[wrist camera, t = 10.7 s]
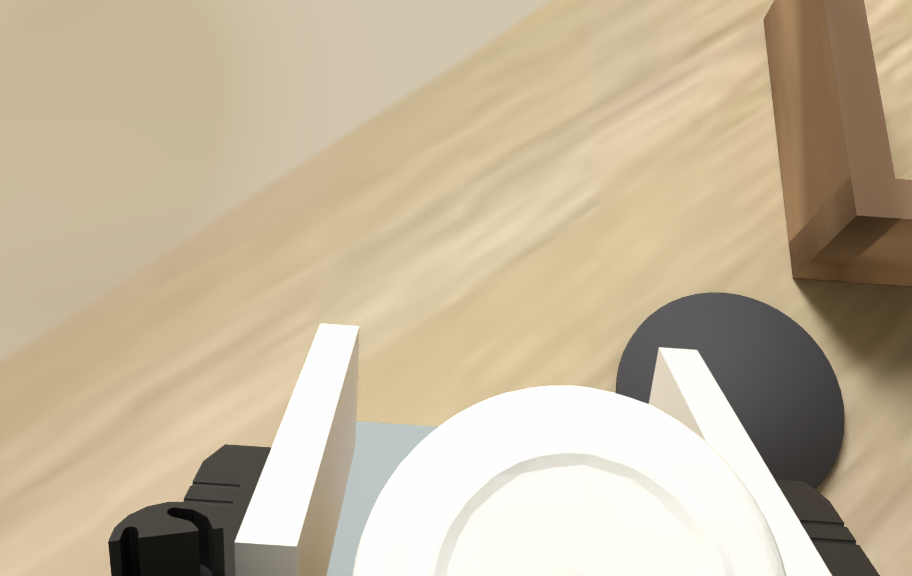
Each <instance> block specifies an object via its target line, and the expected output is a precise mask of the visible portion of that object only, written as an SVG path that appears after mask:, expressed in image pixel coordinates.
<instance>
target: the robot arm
mask: <svg viewBox="0 0 912 576" xmlns="http://www.w3.org/2000/svg"><path fill="white" fill-rule="evenodd" d="M358 349H359V326H350V325H336V324H321V323H320V326H319V328H318V331H317V333H316V336H315V338H314V341H313V344H312V346H311V349H310V351H309V354H308V356H307V359H306V361H305V364H304V366H303V369H302V372H301V374H300V377H299V379H298V382H297V384H296V387H295V389H294V392H293V394H292V397H291V400H290V402H289V405H288V407H287V410H286V412H285V415H284V417H283V420H282V422H281V425H280V428H279V430H278V433H277V435H276V438H275V440H274V443H273V445H272V448H269V447H255V446H240V445H224V446H223V447H221V448H220V449H219V450H217V451H216V452H215V453H213V454H212V455H211V456H210V457H208V458H207V459H206V460H204V461H203V463H202V465H201V467H200V469H199V471H198V472H197V474H196V476H195V478H194V480H193V484H192V486H190V488H189V490H188V492H187V494H186V496H185V498H184V502H166V503H161V504H157V505H152V506H148V507H145V508H143V509H141V510H139V511H137V512H135V513H133V514H130V515H128V516H127V517H126V518H125V519H124V520H123V521H121V522H120V523H119V524H118V525H117V526H116V527H115V528H114V530H113V532H112V534H111V537H110V539H109V541H108V544H109V554H110V565H111V575H112V576H326V575H327V571H328V566H329V562H330V557H331V553H332V548H333V544H334V539H335V535H336V530H337V526H338V521H339V517H340V512H341V508H342V503H343V499H344V494H345V490H346V485H347V481H348V476H349V472H350V467H351V463H352V458H353V454H354V449H355V437H356V408H357V379H358ZM649 405H651V406H654V407H656V408H657V409H659V410H661V411H663V412H664V413H666V414H668V415H669V416H671V417H673V418H675V419H676V420H678V421H680V422H681V423H682V424H684V425H685V426H686V427H688V428H689V429H690V430H692V431H693V432H694V433H695V434H697V435H698V436H699V437H701V438H702V439H703V440H705V441H706V442H707V443H708V444H709V445H710V446H711V447H712V448H713V449H714V450H716V451H717V452H718V453H719V454H720V455H721V456H722V457H723V458H724V459H725V460H726V461H727V463H728V464H729V465H730V466H731V467H732V469H733V470H734V471H735V472H736V474H737V475H738V476H739V477H740V478H741V480H742V481H743V482H744V483H745V485H746V487H747V488H748V490H749V491H750V493H751V494H752V496H753V497H754V499H755V500H756V502H757V503H758V505H759V507H760V509H761V511H762V513H763V514H764V516H765V517H766V519H767V522H768V524H769V526H770V528H771V530H772V533H773V535H774V537H775V540H776V542H777V545H778V548H779V551H780V553H781V556H782V560H783V563H784V567H785V571H786V575H787V576H880V575H879V574H878V572H877V571H876V569H875V568H874V566H873V565H872V564H871V562H870V561H869V559H868V558H867V556H866V555H865V553H864V552H863V550H862V549H861V547H860V546H859V545H856V540H855V538H854V537H853V535H852V534H851V532H850V531H849V529H848V528H847V527H844V522H843V521H842V519H841V518H840V516H839V515H838V513H837V512H836V510H835V509H834V507H833V506H832V504H831V503H830V501H829V500H827V499H826V498H825V497H823V496H822V495H821V494H820V493H818V492H817V491H816V490H815V489H813V488H812V487H811V486H809V485H808V484H807V483H806V482H804V481H789V480H775V479H774V478H773V476H772V474H771V473H770V471H769V469H768V468H767V466H766V464H765V463H764V461H763V459H762V458H761V456H760V454H759V453H758V451H757V449H756V448H755V446H754V444H753V443H752V441H751V439H750V438H749V436H748V434H747V433H746V431H745V429H744V428H743V426H742V424H741V423H740V421H739V419H738V418H737V416H736V414H735V412H734V411H733V409H732V407H731V406H730V404H729V402H728V401H727V399H726V397H725V396H724V394H723V392H722V391H721V389H720V387H719V386H718V384H717V382H716V381H715V379H714V377H713V376H712V374H711V372H710V371H709V369H708V367H707V366H706V364H705V362H704V361H703V359H702V357H701V356H700V354H699V352H698V351H697V350H690V349H676V348H662V347H659V349H658V355H657V361H656V366H655V372H654V377H653V383H652V388H651V394H650V399H649Z"/></svg>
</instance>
